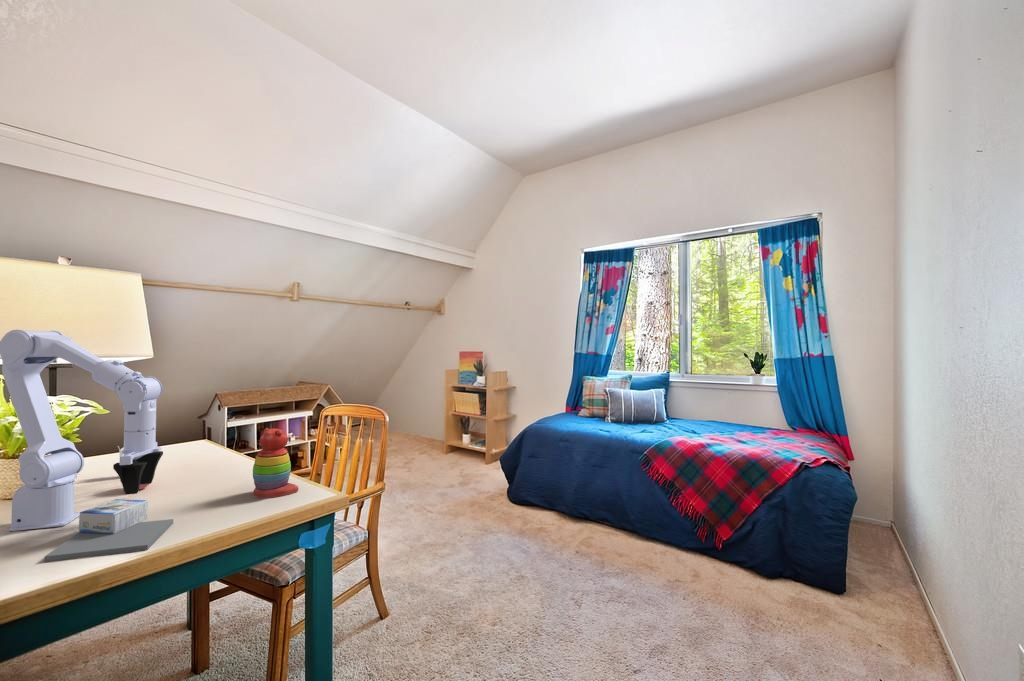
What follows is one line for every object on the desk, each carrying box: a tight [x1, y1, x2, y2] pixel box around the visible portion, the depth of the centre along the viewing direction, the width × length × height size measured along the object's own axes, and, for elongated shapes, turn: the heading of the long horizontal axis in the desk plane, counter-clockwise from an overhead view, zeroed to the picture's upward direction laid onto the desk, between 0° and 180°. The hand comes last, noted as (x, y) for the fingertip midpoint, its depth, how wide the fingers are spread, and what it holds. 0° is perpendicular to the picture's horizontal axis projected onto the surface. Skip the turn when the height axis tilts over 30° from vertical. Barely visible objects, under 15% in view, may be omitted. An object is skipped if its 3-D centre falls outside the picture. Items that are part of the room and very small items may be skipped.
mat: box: [43, 518, 174, 563], centre depth 94 cm, size 16×14×1 cm
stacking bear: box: [252, 427, 300, 499], centre depth 126 cm, size 11×10×18 cm
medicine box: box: [78, 498, 149, 534], centre depth 99 cm, size 8×4×9 cm
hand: (139, 488), depth 105 cm, fingers open, 7 cm apart
